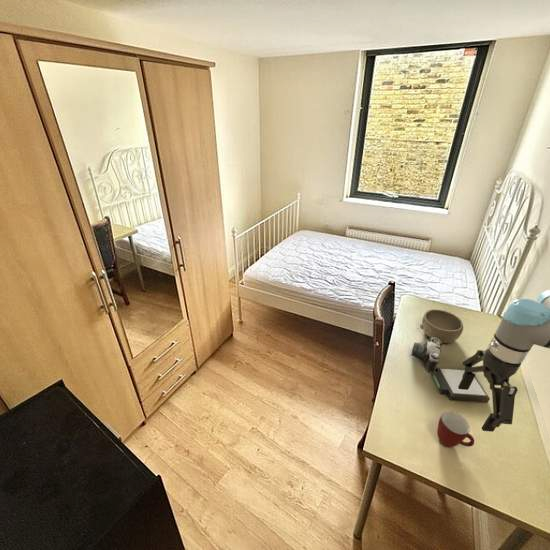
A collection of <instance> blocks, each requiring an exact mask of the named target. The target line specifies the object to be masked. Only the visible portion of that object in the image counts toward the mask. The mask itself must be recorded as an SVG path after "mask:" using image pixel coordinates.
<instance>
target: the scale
mask: <svg viewBox="0 0 550 550" xmlns="http://www.w3.org/2000/svg"><path fill="white" fill-rule="evenodd" d="M464 372H465V370H464V369H463V368H460V369H459V368H448V367H447V368H445V367H436V368H435V370H434V371H433V373H431V379H432V380H433V382H434V384H435V386H436V388H437V390H438V392H439V394H440V395H446V397H447V398H448V400H449V401H454V402H455V401H456V402H470V403H482V404H483V403H484V404H488V403H489V401H490V400H491V398H490V397H489V395H488V394H487V392H486V391H485V389H484V387H483V386H482V384H481V383H480V381H479V380H478V379H477V377H476V376H475V377H474V379H473V381H472V383H471V385H470V387H469V389H468V390H463V389H459V388H458V386H459V384H460V382H461V380H462V376H463V374H464Z"/></svg>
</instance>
